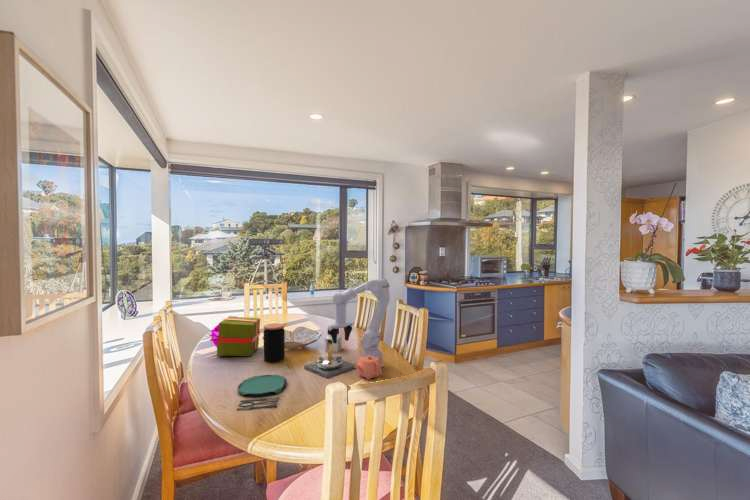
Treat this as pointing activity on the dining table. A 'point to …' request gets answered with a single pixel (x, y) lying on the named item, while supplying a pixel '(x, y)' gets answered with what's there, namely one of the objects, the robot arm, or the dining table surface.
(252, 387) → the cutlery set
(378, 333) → the robot arm
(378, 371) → the pumpkin
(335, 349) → the container
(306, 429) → the dining table surface
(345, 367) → the base plate
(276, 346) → the coffee jar
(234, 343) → the gift box
